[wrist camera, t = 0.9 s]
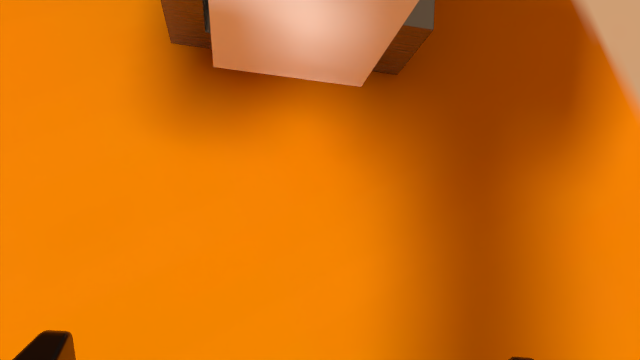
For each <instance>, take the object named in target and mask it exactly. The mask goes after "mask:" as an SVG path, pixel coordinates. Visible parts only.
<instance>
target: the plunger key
mask: <svg viewBox="0 0 640 360" xmlns="http://www.w3.org/2000/svg"><path fill="white" fill-rule="evenodd" d="M418 1H419V0H208V3H209V16H210V29H211V42H212V55H213V67H217V68H225V69H232V70H239V71H247V72H254V73H262V74H269V75H276V76H284V77H291V78H299V79H306V80H314V81H321V82H328V83H336V84H343V85H351V86H358V87H361V86H362V85H363V83H364V82H365V80H366V79H367V77H368V76H369V74H370V73H371V71H372V70H373V68H374V67H375V65H376V64H377V62H378V61H379V59H380V58H381V56H382V55H383V53H384V52H385V50H386V49H387V47H388V46H389V45H390V43H391V42H392V40H393V39H394V37H395V36H396V34H397V33H398V31H399V30H400V28H401V27H402V25H403V24H404V22H405V21H406V19H407V18H408V16H409V15H410V13H411V12H412V10H413V9H414V7H415V6H416V4H417V3H418Z"/></svg>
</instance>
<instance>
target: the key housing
mask: <svg viewBox="0 0 640 360" xmlns="http://www.w3.org/2000/svg"><path fill="white" fill-rule="evenodd" d="M434 3H435V0H419V1H418V3H417V4H416V6H415V7H414V9H413V10H412V12H411V13H410V15H409V16H408V18H407V19H406V21H405V22H404V24H403V25H402V27H401V28H400V30H399V31H398V33H397V34H396V36H395V37H394V39H393V40H392V42H391V43H390V45H389V46H388V47H387V49H386V50H385V52H384V53H383V55H382V56H381V58H380V59H379V61H378V62H377V64H376V65H375V67H374V68H373V70H372V71H376V72H383V73H390V74H398V73H399V72H400V71H401V69H402V68H403V67H404V66H405V64H406V63H407V62H408V61H409V59H410V58H411V57H412V56H413V54H414V53H415V52H416V51H417V49H418V48H419V47H420V46H421V44H422V43H423V42H424V41H425V40H426V38H427V37H428V36H429V35H430V33H431V32H432V31H433V29H434ZM161 4H162V8H163V12H164V16H165V20H166V24H167V28H168V32H169V36H170V40H171V43H175V44H182V45H189V46H197V47H204V48H211V49H212V42H211V29H210V16H209V3H208V0H161Z"/></svg>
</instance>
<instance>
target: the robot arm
mask: <svg viewBox="0 0 640 360" xmlns="http://www.w3.org/2000/svg"><path fill="white" fill-rule="evenodd" d="M13 360H76V358H75V351H74V344H73V337H72V335H71V333H70V332H67V331H53V330H47V331H44V332H42V333H40V334H39V335H38V336H37V337H36V338H35V339H34V340H33V341H32V342H30V343H29V344H28V345H27V346H26V347H25V348H24V349H23V350H22V351H21V352H20V353H19V354H18V355H17V356H16V357H15V358H14V359H13ZM509 360H534V359H532V358H524V357H512V358H510V359H509Z"/></svg>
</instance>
